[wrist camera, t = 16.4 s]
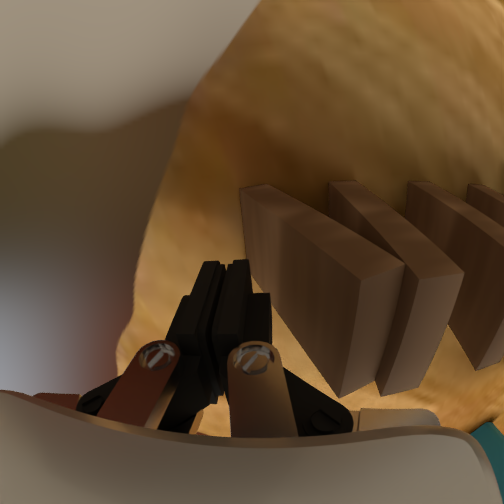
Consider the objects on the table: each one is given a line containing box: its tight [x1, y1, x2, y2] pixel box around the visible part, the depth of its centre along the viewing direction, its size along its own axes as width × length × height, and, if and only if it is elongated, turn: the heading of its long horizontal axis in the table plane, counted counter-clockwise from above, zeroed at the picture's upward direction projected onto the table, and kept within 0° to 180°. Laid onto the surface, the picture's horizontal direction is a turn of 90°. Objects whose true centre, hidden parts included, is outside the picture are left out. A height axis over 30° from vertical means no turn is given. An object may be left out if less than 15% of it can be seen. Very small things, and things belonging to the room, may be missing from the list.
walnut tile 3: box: [405, 181, 504, 371], centre depth 11 cm, size 2×5×10 cm, turn 5°
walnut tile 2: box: [329, 181, 464, 397], centre depth 12 cm, size 2×5×10 cm, turn 5°
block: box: [470, 422, 504, 504], centre depth 24 cm, size 12×5×20 cm, turn 150°
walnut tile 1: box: [239, 184, 405, 398], centre depth 12 cm, size 2×5×10 cm, turn 5°
